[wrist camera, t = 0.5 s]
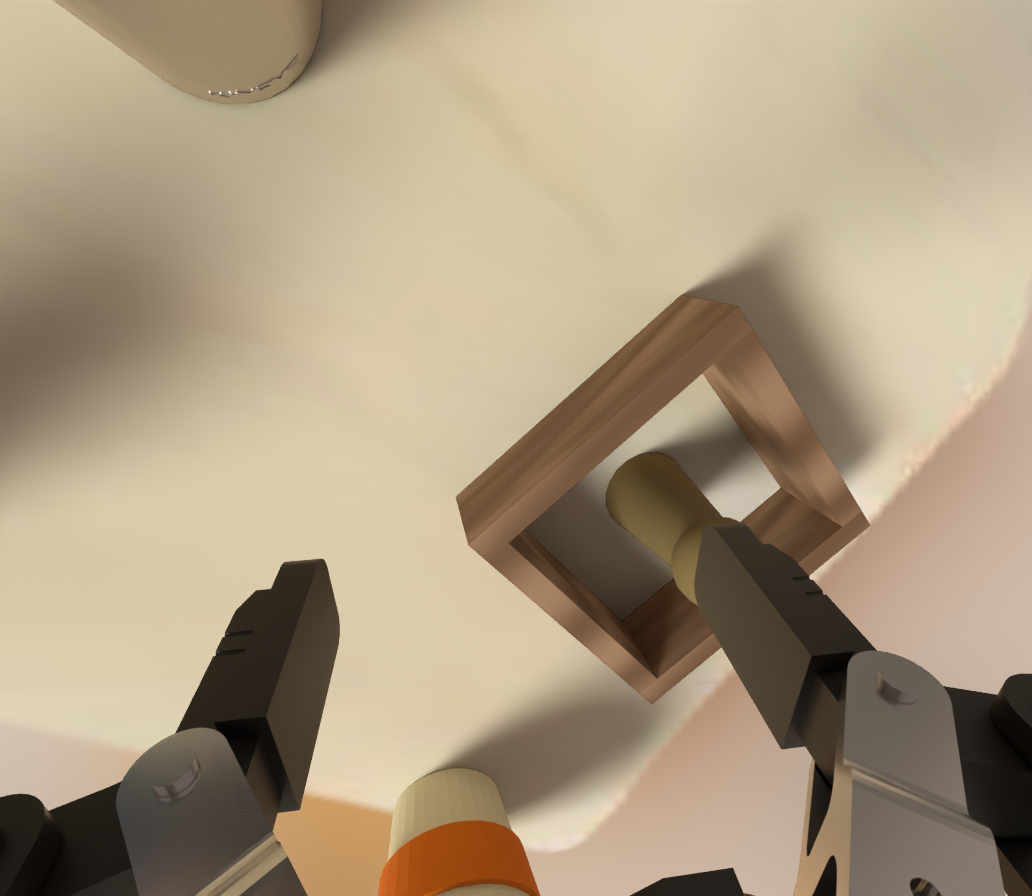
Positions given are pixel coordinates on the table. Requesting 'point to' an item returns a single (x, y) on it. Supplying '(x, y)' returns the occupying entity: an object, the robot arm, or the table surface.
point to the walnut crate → (612, 420)
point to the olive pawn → (663, 512)
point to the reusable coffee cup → (454, 841)
